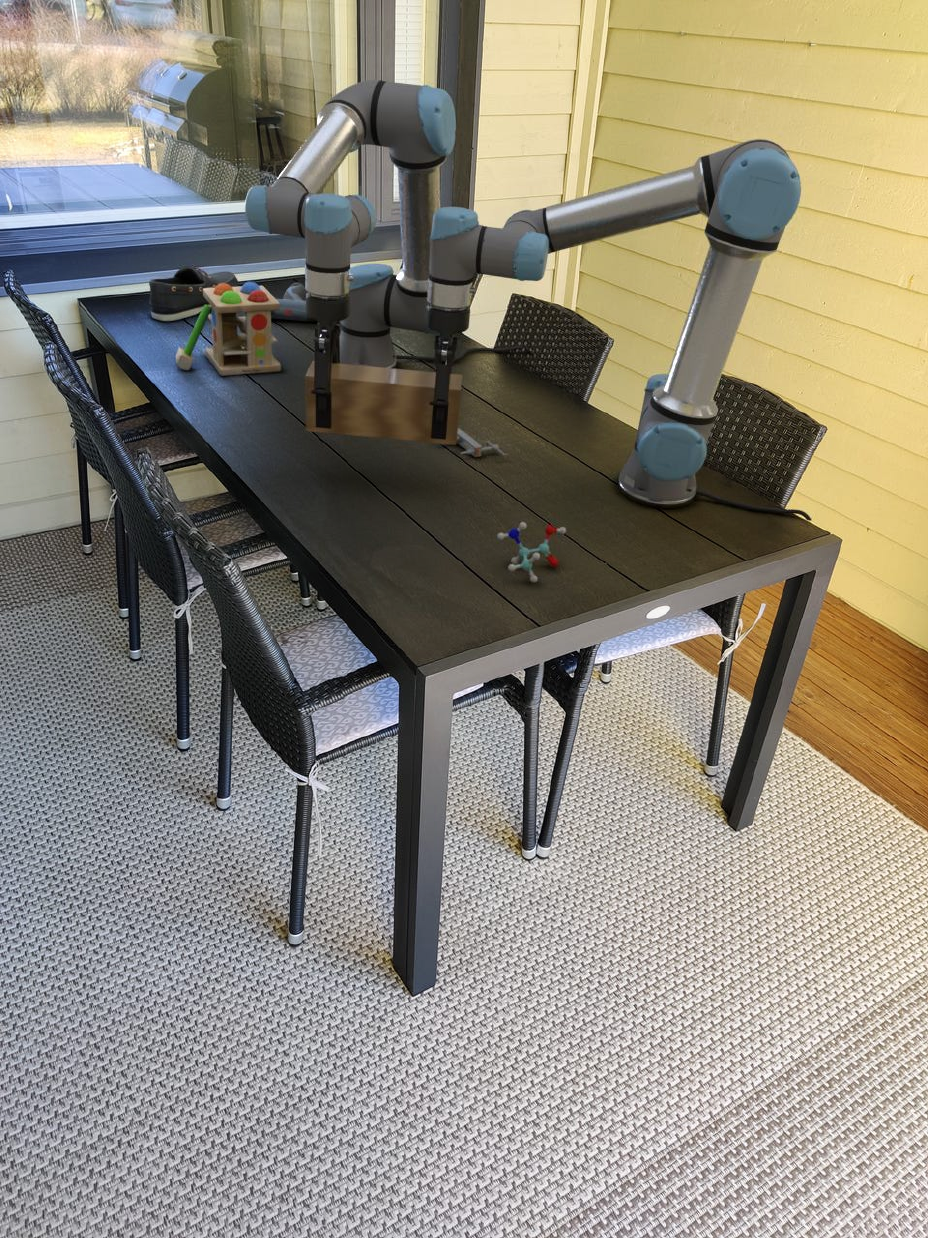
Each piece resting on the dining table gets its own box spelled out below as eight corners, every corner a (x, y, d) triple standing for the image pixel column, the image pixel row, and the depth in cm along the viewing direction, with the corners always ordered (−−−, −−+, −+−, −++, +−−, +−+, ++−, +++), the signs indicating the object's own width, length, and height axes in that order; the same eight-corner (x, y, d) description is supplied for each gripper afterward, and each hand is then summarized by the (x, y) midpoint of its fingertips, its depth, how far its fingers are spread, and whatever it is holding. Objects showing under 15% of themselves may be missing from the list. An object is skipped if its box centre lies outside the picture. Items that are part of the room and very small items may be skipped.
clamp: (430, 428, 204) (472, 422, 209) (430, 438, 205) (471, 431, 210) (466, 458, 194) (509, 450, 198) (465, 468, 195) (508, 460, 199)
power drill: (344, 304, 276) (335, 327, 259) (277, 298, 275) (264, 321, 258) (344, 285, 273) (335, 306, 256) (277, 279, 272) (264, 300, 255)
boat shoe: (257, 300, 274) (255, 261, 268) (168, 323, 250) (164, 281, 244) (224, 291, 279) (221, 254, 274) (133, 313, 256) (128, 272, 250)
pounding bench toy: (183, 379, 220) (176, 299, 210) (169, 357, 231) (162, 280, 221) (282, 371, 230) (280, 294, 220) (264, 350, 240) (262, 276, 230)
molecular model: (561, 577, 156) (542, 517, 155) (507, 592, 160) (488, 534, 159) (577, 563, 167) (559, 507, 166) (526, 578, 171) (508, 523, 169)
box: (306, 431, 178) (305, 375, 172) (313, 414, 184) (312, 360, 179) (456, 444, 178) (460, 389, 173) (458, 428, 185) (462, 374, 179)
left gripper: (341, 313, 159) (339, 442, 172) (357, 278, 176) (354, 399, 189) (295, 308, 159) (296, 438, 172) (315, 274, 176) (315, 395, 189)
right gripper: (468, 325, 160) (457, 454, 173) (472, 289, 177) (462, 409, 190) (422, 321, 160) (415, 450, 172) (431, 286, 177) (423, 405, 189)
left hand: (327, 417), depth 181 cm, fingers closed on box, 8 cm apart
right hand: (439, 428), depth 181 cm, fingers closed on box, 8 cm apart
